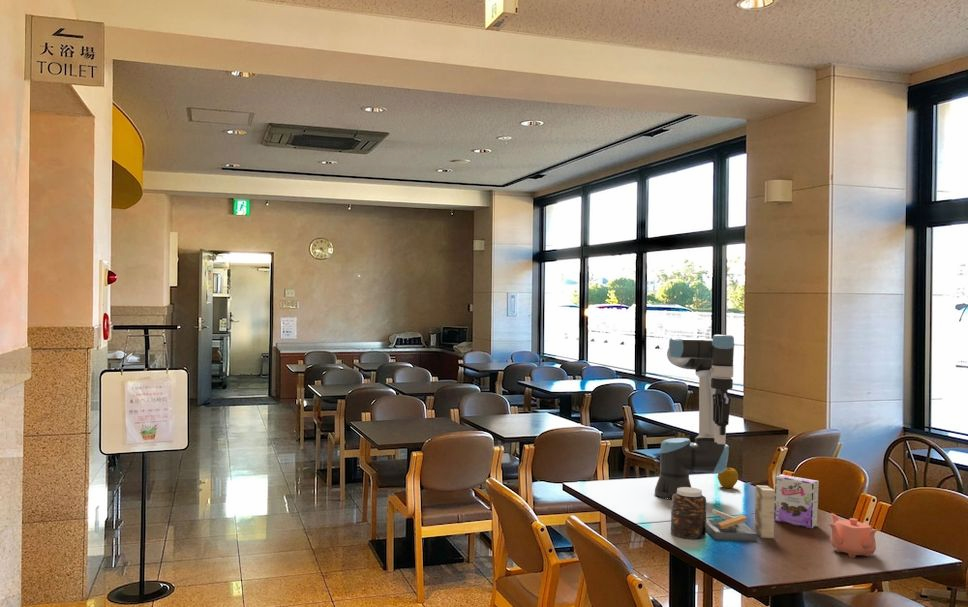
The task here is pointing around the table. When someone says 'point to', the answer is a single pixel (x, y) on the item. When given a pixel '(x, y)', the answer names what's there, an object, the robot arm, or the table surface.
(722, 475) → the apple
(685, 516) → the jar
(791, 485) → the candy box
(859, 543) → the pink rounded pig figure
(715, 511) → the paddle far
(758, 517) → the birch block
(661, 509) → the table surface
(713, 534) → the grey square base
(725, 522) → the orange wooden board
